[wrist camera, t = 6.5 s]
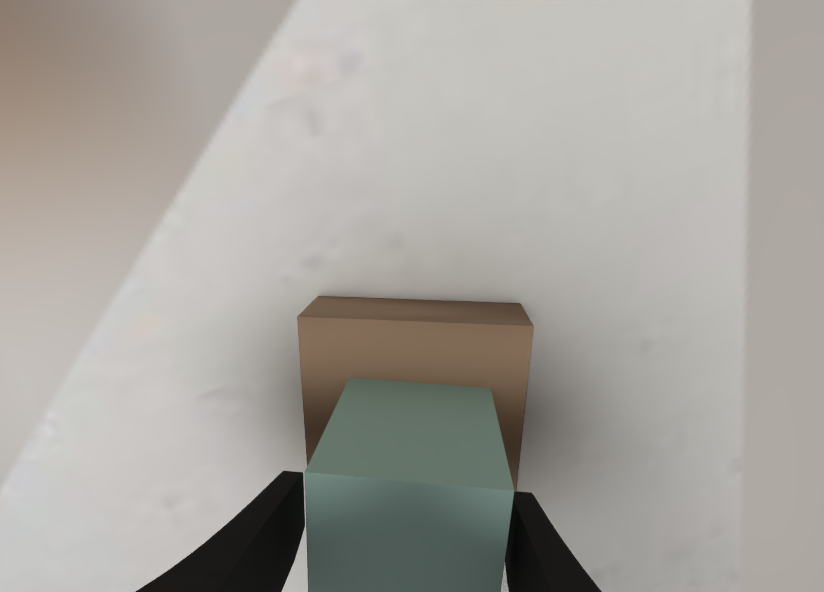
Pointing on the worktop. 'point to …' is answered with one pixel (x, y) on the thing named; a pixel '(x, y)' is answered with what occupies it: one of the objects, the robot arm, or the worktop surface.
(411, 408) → the sage cube
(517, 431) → the walnut block
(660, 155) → the worktop surface
